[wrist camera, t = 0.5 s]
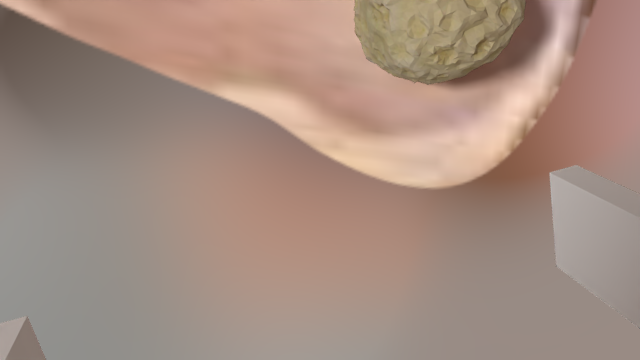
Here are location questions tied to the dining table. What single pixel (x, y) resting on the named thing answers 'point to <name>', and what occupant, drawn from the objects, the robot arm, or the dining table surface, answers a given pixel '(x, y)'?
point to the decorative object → (435, 35)
